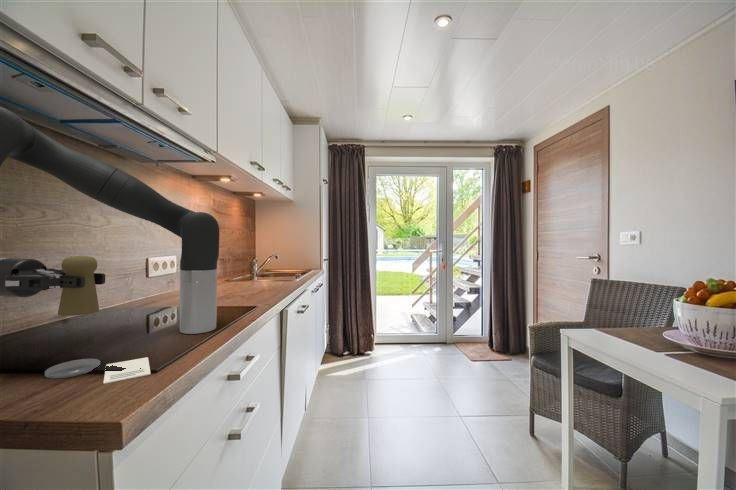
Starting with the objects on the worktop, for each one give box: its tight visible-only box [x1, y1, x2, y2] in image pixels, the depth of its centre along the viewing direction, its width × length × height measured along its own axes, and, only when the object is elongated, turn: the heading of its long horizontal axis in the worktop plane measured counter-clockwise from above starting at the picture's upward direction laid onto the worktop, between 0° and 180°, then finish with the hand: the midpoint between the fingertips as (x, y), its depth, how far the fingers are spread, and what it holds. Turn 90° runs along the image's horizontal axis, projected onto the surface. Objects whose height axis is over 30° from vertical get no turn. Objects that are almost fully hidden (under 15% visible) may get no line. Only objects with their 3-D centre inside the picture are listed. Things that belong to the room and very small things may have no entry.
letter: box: [102, 357, 152, 385], centre depth 63 cm, size 10×7×1 cm
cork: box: [57, 255, 100, 317], centre depth 62 cm, size 6×6×11 cm
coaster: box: [44, 358, 101, 379], centre depth 62 cm, size 8×8×1 cm
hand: (93, 280), depth 62 cm, fingers closed on cork, 4 cm apart
